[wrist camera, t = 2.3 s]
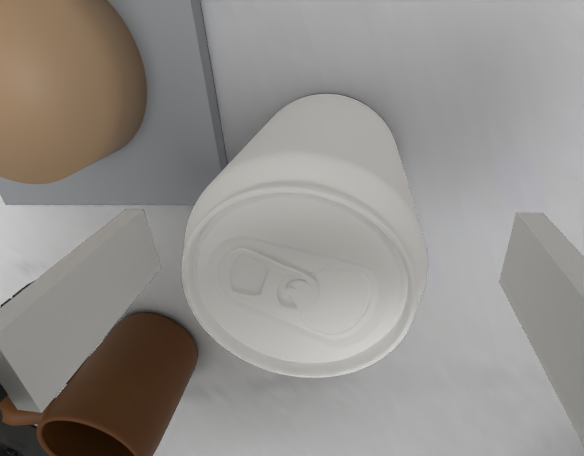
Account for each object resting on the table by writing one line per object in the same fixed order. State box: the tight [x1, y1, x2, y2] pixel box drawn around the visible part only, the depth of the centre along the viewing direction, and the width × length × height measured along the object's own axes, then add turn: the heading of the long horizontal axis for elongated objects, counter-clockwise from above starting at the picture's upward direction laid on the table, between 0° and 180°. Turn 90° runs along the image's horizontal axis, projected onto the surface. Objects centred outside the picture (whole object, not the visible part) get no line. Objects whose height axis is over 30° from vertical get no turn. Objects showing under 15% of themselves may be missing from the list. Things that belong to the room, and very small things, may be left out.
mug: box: [0, 313, 197, 456], centre depth 27 cm, size 12×8×9 cm, turn 75°
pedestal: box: [0, 0, 227, 205], centre depth 18 cm, size 16×16×6 cm
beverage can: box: [181, 94, 428, 378], centre depth 16 cm, size 8×8×12 cm
